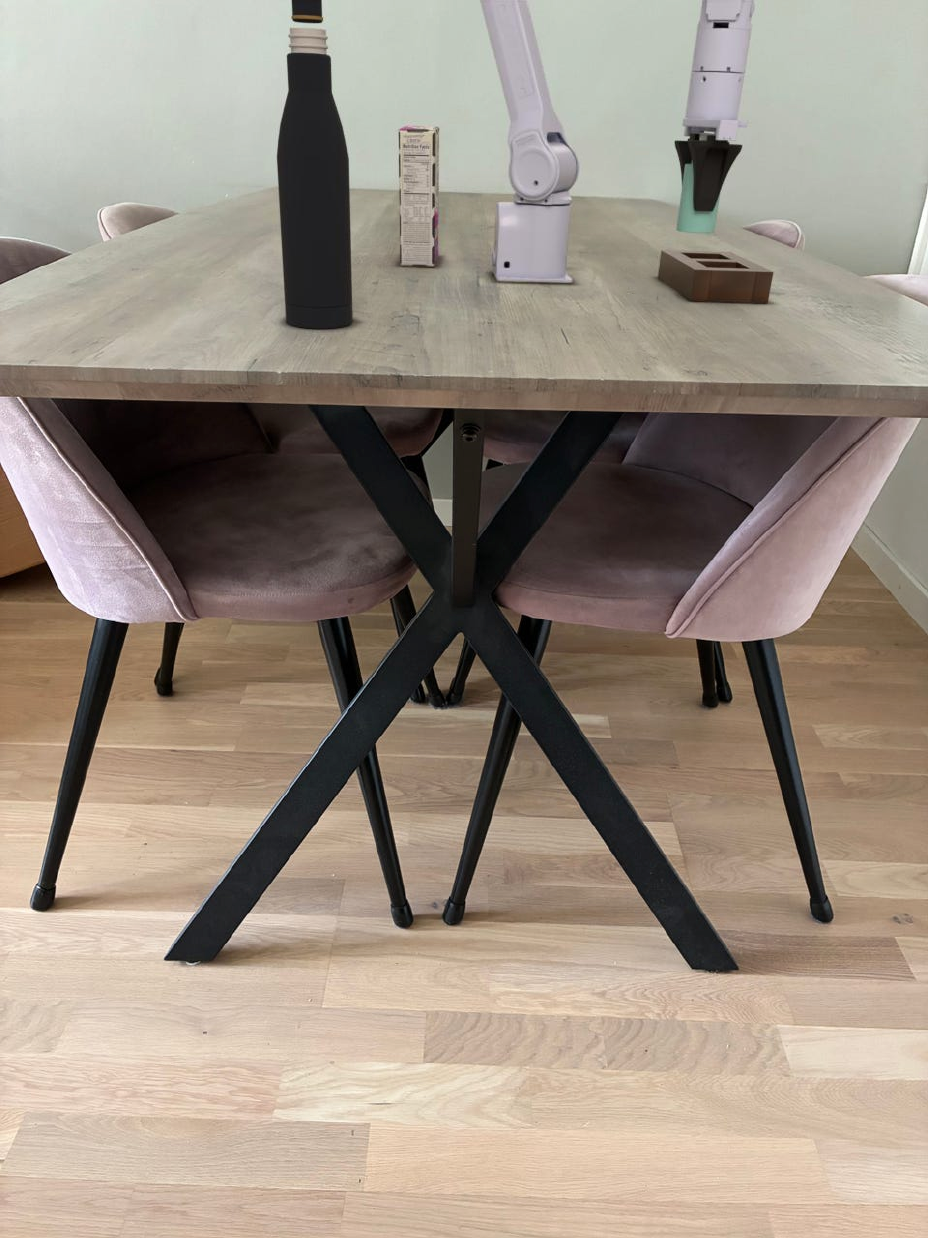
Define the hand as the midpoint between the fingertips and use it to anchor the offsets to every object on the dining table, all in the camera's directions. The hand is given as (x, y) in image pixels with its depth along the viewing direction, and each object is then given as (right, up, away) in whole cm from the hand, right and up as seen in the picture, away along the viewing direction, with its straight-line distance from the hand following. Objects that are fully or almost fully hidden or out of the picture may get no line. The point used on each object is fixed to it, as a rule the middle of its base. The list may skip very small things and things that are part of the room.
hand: (697, 208), depth 107 cm
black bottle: (-41, -19, -17) cm, 49 cm away
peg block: (+3, -7, +7) cm, 11 cm away
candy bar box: (-33, +1, +20) cm, 39 cm away
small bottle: (0, -2, +1) cm, 2 cm away
